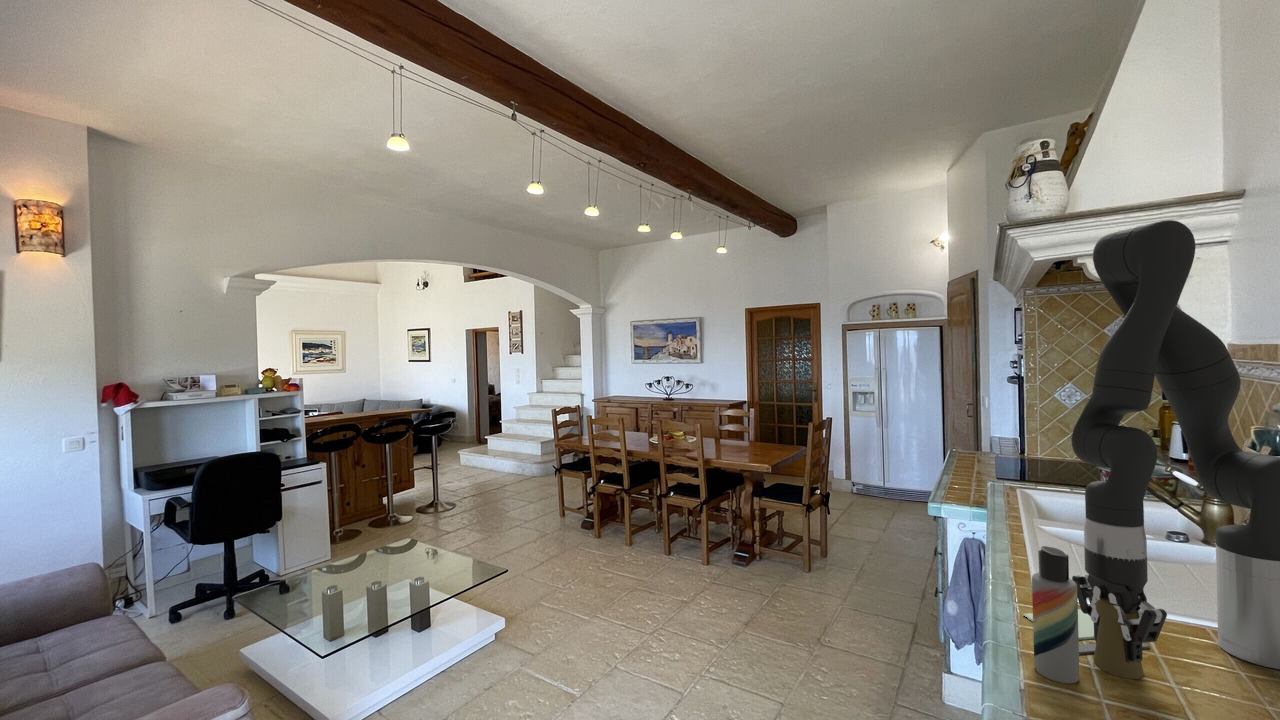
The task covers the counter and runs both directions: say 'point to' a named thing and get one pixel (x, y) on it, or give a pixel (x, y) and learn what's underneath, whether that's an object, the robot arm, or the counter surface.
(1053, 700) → the counter surface
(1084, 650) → the charcoal line
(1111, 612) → the cork
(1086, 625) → the mat
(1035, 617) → the lotion bottle
